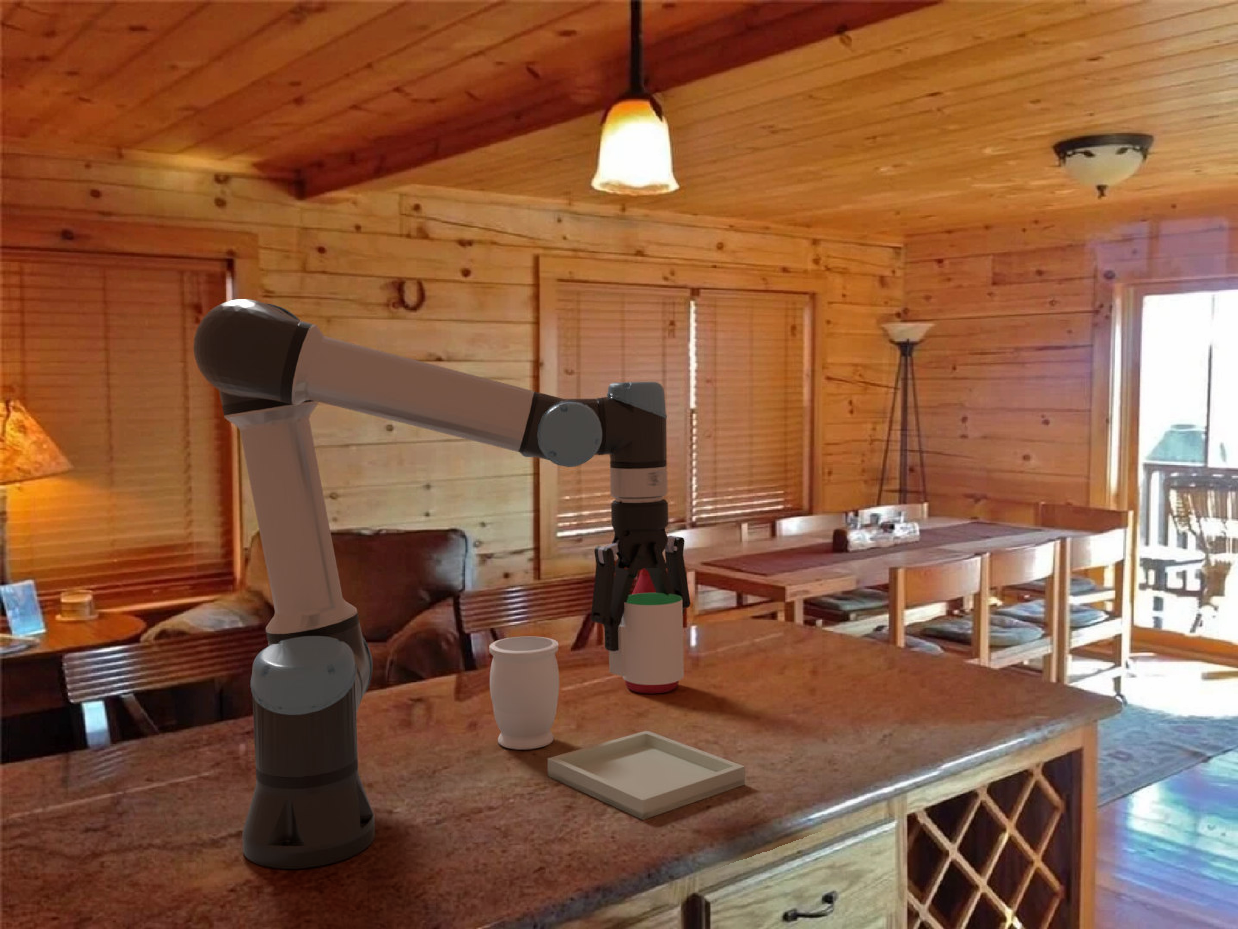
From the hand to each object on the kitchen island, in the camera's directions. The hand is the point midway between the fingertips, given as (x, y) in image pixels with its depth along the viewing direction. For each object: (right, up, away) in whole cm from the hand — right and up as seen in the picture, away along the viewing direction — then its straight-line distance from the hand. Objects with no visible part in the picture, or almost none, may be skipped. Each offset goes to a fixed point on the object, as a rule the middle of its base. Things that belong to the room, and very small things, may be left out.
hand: (643, 667), depth 149 cm
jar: (-17, -15, +19) cm, 29 cm away
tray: (0, -16, +2) cm, 16 cm away
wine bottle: (+2, -12, +46) cm, 48 cm away
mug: (0, -1, 0) cm, 1 cm away
